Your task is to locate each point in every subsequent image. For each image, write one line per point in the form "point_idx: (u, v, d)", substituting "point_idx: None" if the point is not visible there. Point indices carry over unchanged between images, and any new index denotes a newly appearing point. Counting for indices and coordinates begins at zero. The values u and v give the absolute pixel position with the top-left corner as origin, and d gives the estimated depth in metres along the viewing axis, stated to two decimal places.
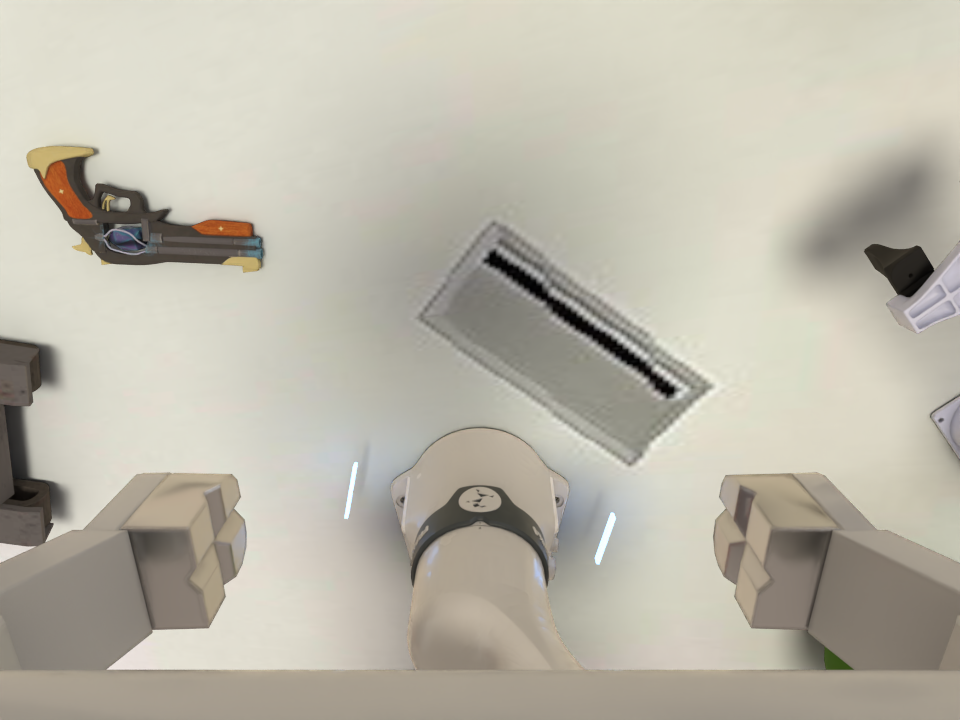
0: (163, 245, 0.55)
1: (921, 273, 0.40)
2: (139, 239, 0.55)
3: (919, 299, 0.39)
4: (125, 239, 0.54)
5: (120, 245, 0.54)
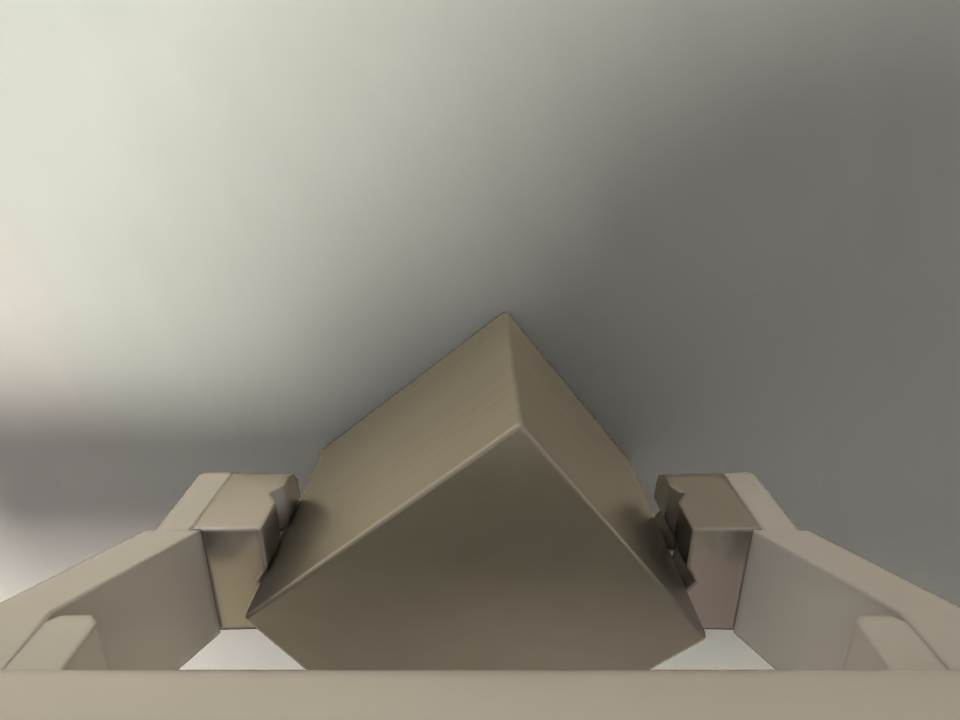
0: None
1: None
2: None
3: None
4: None
5: None
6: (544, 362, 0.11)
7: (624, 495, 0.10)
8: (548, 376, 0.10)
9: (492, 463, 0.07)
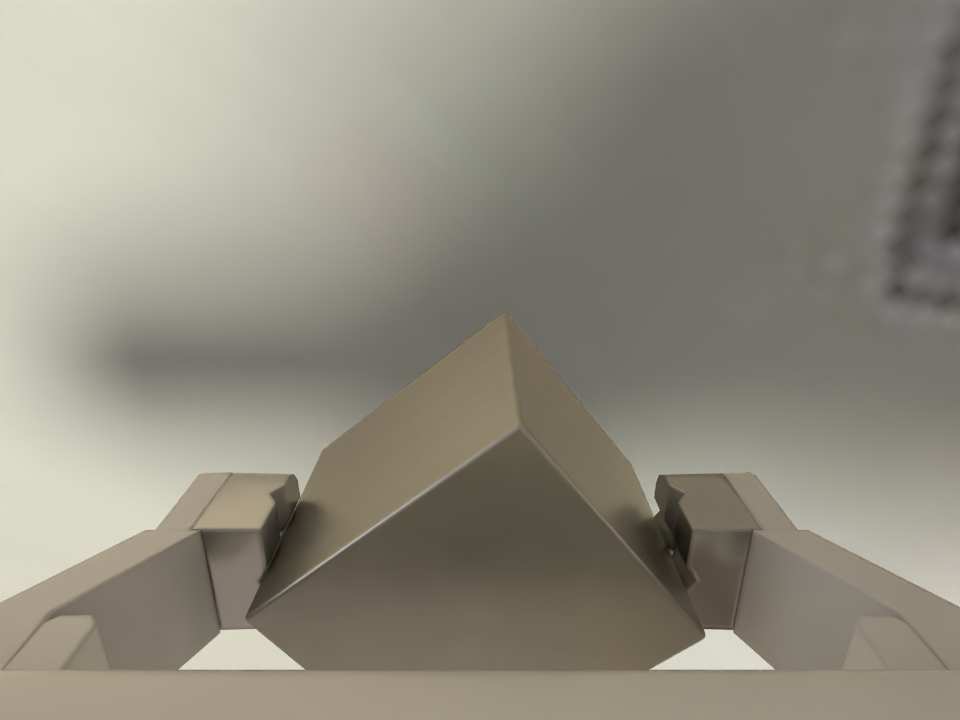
0: None
1: None
2: None
3: None
4: None
5: None
6: (543, 362, 0.11)
7: (624, 495, 0.10)
8: (547, 376, 0.10)
9: (492, 464, 0.07)
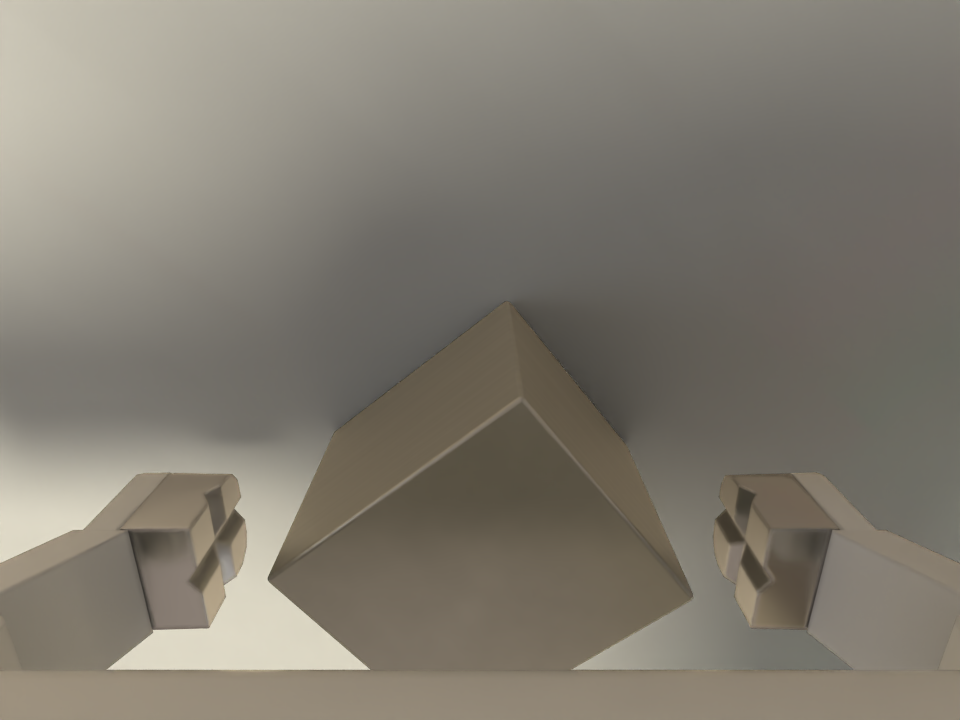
0: None
1: None
2: None
3: None
4: None
5: None
6: (544, 348, 0.12)
7: (619, 470, 0.10)
8: (548, 360, 0.11)
9: (495, 434, 0.08)
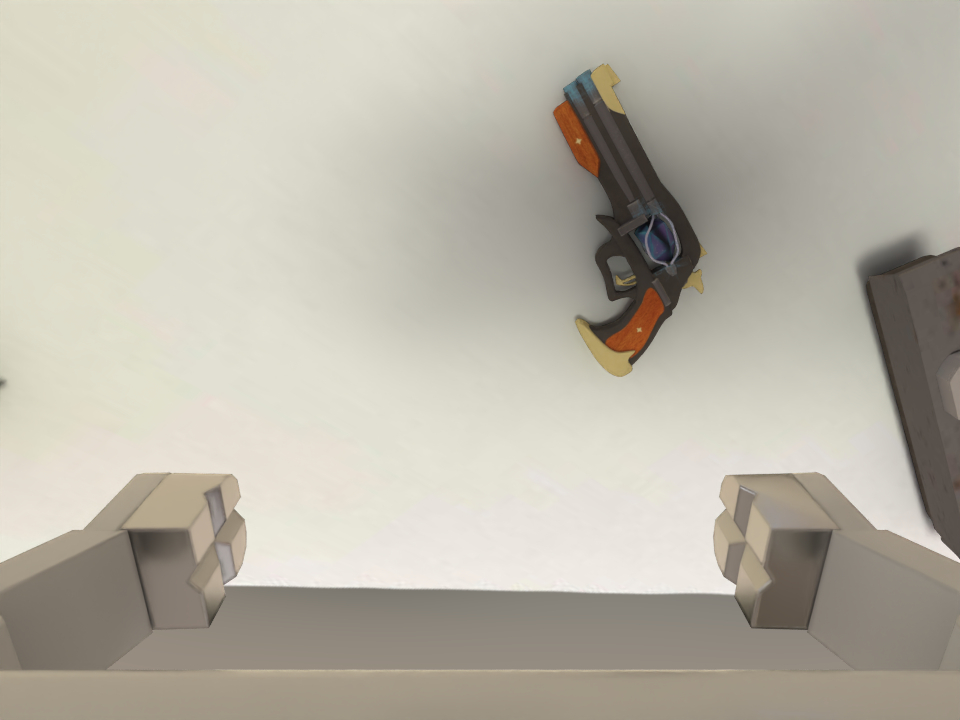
0: (640, 196, 0.40)
1: None
2: (648, 226, 0.40)
3: None
4: (656, 240, 0.40)
5: (668, 242, 0.40)
6: None
7: None
8: None
9: None
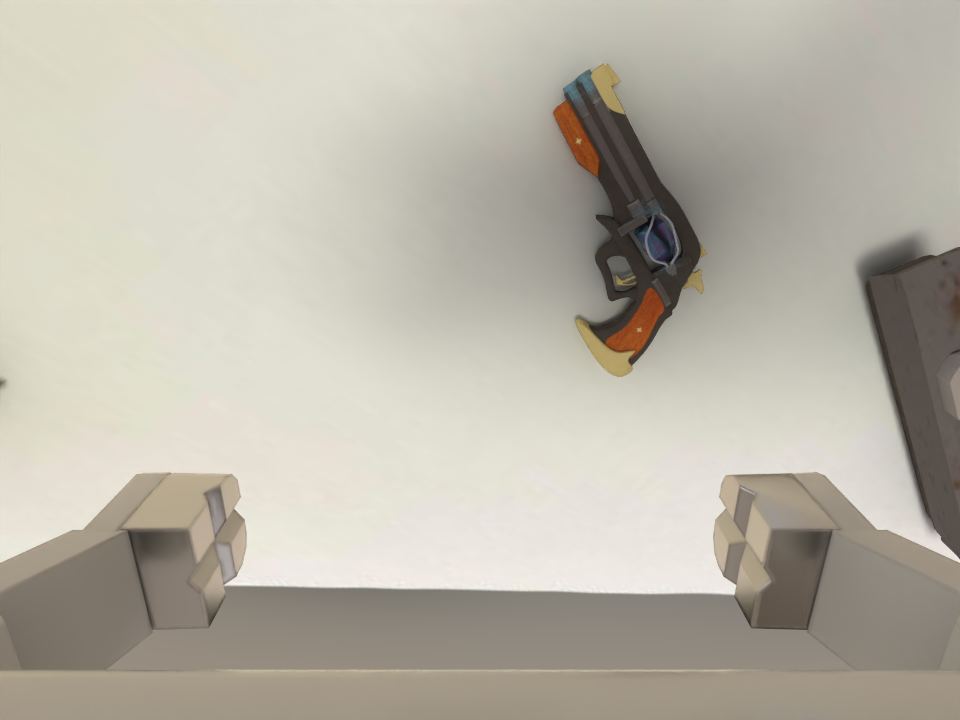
0: (640, 196, 0.40)
1: None
2: (648, 226, 0.40)
3: None
4: (656, 240, 0.40)
5: (668, 242, 0.40)
6: None
7: None
8: None
9: None
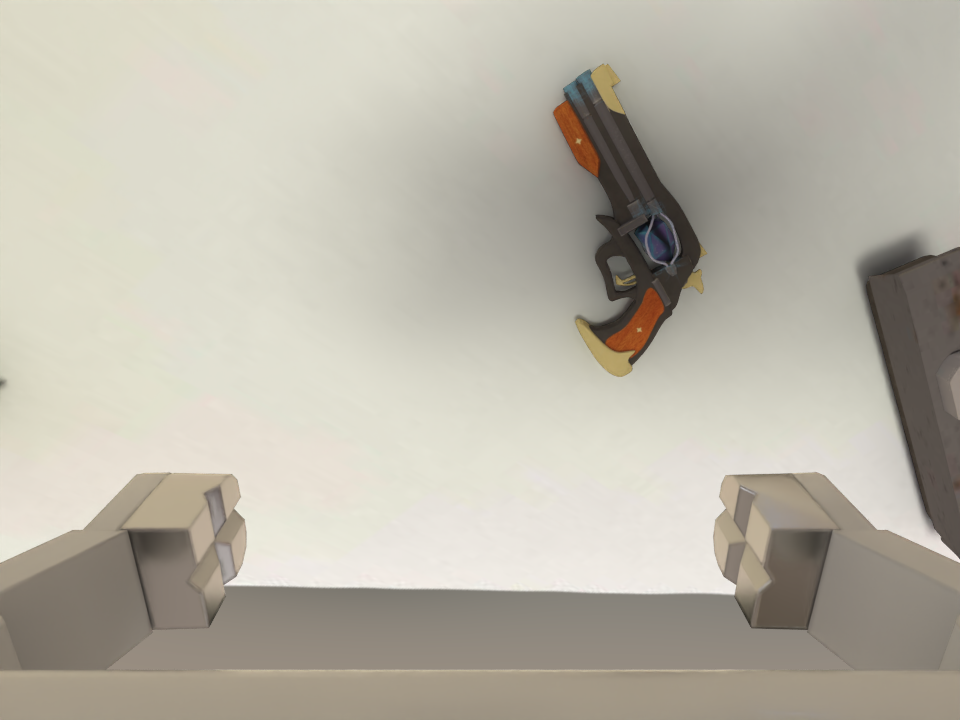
0: (640, 196, 0.40)
1: None
2: (648, 226, 0.40)
3: None
4: (656, 240, 0.40)
5: (668, 242, 0.40)
6: None
7: None
8: None
9: None
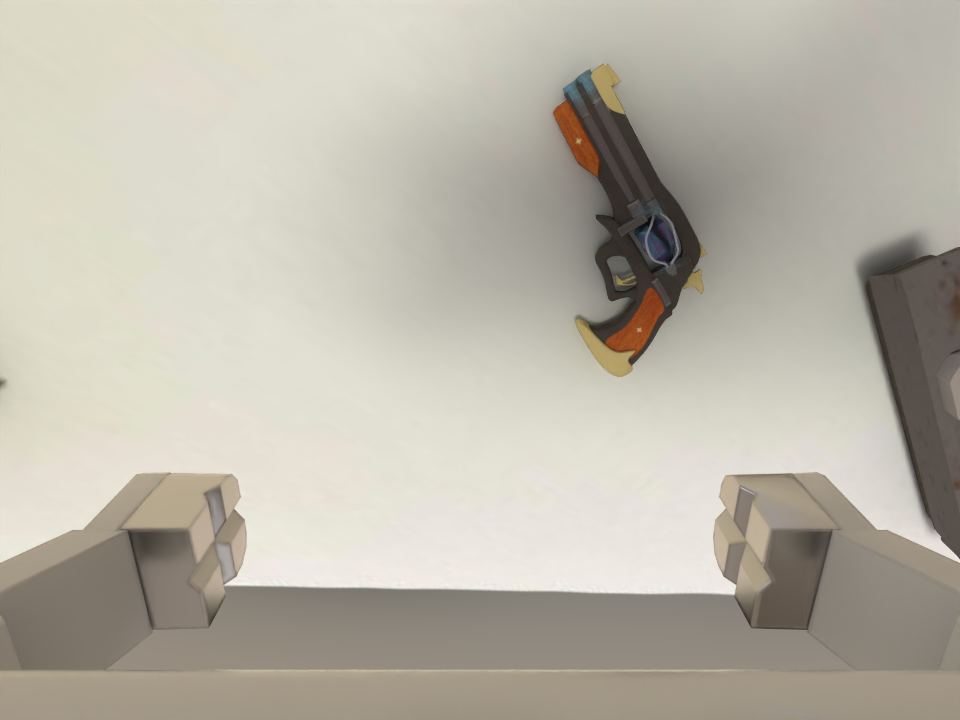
0: (640, 196, 0.40)
1: None
2: (648, 226, 0.40)
3: None
4: (656, 240, 0.40)
5: (668, 242, 0.40)
6: None
7: None
8: None
9: None
